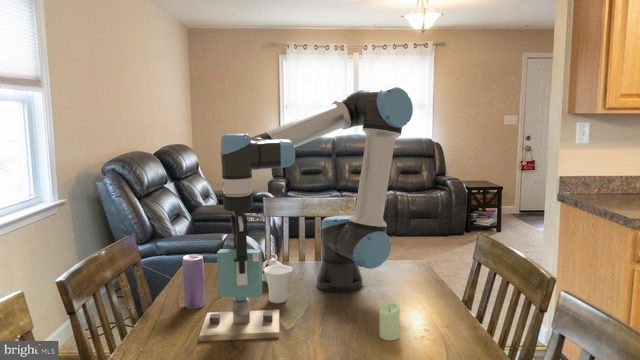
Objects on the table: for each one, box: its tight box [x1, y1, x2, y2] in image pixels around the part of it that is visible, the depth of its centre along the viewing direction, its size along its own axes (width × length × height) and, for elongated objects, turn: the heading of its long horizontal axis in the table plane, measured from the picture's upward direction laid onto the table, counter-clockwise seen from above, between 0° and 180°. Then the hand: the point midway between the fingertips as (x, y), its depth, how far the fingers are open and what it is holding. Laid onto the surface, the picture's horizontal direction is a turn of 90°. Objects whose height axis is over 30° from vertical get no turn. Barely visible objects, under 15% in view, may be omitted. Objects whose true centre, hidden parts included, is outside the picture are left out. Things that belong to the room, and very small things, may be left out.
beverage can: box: [182, 253, 206, 310], centre depth 142 cm, size 6×6×15 cm
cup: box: [264, 264, 294, 304], centre depth 146 cm, size 9×9×10 cm
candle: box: [378, 302, 401, 341], centre depth 122 cm, size 5×5×8 cm
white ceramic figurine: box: [262, 253, 284, 283], centre depth 162 cm, size 10×8×15 cm
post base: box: [198, 297, 280, 342], centre depth 128 cm, size 20×14×8 cm
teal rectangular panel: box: [216, 248, 263, 302], centre depth 127 cm, size 3×11×13 cm, turn 87°
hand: (241, 281), depth 127 cm, fingers closed on teal rectangular panel, 4 cm apart
